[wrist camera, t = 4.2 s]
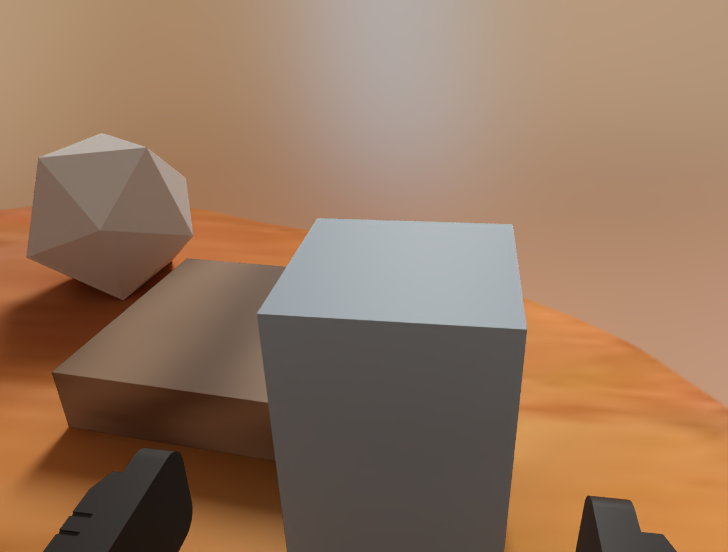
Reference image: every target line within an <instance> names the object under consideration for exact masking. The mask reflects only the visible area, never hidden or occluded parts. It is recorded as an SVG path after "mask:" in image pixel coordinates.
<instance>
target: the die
mask: <svg viewBox="0 0 728 552" xmlns="http://www.w3.org/2000/svg"><path fill="white" fill-rule="evenodd" d="M192 237H193V230H192V222H191V215H190V207H189V199H188V192H187V185H186V178H185V177H184V176H182V175H181V174H180V173H178V172H177V171H176V170H175V169H173V168H172V167H171V166H170V165H168V164H167V163H166V162H165V161H163V160H162V159H161V158H159V157H158V156H157V155H156V154H154V153H153V152H152V151H151V150H149V149H148V148H147V147H144V146H141V145H138V144H134V143H131V142H128V141H125V140H122V139H119V138H116V137H112V136H109V135H106V134H103V133H101V134H98V135H96V136H93V137H91V138H88V139H85V140H83V141H80V142H78V143H75V144H73V145H70V146H68V147H65V148H63V149H60V150H57V151H54V152H52V153H49V154H47V155H44V156H42V157H39V158H38V165H37V173H36V182H35V190H34V199H33V207H32V215H31V224H30V232H29V241H28V249H27V258H29V259H31V260H33V261H36V262H38V263H40V264H42V265H45V266H47V267H49V268H51V269H54V270H56V271H58V272H60V273H63V274H65V275H67V276H69V277H72V278H74V279H76V280H78V281H81V282H83V283H85V284H87V285H90V286H92V287H94V288H96V289H99V290H101V291H103V292H105V293H108V294H110V295H112V296H114V297H117V298H119V299H121V300H125V299H126V298H127V297H128V296H129V295H131V294H132V293H133V292H134V291H136V290H137V289H138V288H139V287H140V286H142V285H143V284H144V283H145V282H147V281H148V280H149V279H150V278H151V277H153V276H154V275H155V274H156V273H158V272H159V271H160V270H161V269H163V268H164V267H165V266H166V265H167V264H169V263H170V262H171V261H172V260H173V259H174V258H175V257H176V256H177V254H178V253H179V252H180V251H181V250H182V248H183V247H184V246H185V245H186V244H187V243H188V241H189V240H190V239H191V238H192Z"/></svg>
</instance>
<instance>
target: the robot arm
mask: <svg viewBox="0 0 728 552" xmlns="http://www.w3.org/2000/svg"><path fill="white" fill-rule="evenodd" d="M191 520H192V501H191V496H190V491H189V487H188V482H187V478H186V473H185V468H184V464H183V459H182V456H181V454H180V453H179V452H177V451H168V450H158V449H149V448H142V449H140V450H139V451H138V452H137V453H136V454H135V455H134V457H133V458H132V459H131V461H130V462H129V464H128V465H127V467H126V468H125V469H124V471H123V472H114V471H113V472H111V473H110V474H109V475H107V476H106V477H105V478H104V479H102V480H101V481H100V482H98V483H97V484H96V485H95V486H93V487H92V488H91V489H89V491H88V492H87V493H86V495H85V496H84V497H83V499H82V500H81V501H80V503H79V504H78V505H77V507H76V508H75V509H74V511H73V515H72V516H69V518H68V519H67V520H66V522H65V523H64V524H63V526H62V527H61V528H60V532H59V534H56V535H55V536H54V538H53V539H52V540H51V542H50V543H49V544H48V546H47V547H46V548H45V550H44V551H43V552H179V550H180V548H181V546H182V544H183V542H184V540H185V538H186V536H187V534H188V531H189V528H190V524H191ZM576 552H677V551H676V550H675V549H674V548H673V546H672V545H671V544H670V543H669V541H668V540H667V539H666V537H665V536H664V535H663V534H655V533H646V532H641V530H640V527H639V523H638V520H637V516H636V512H635V509H634V506H633V504H632V502H631V501H630V500H625V499H616V498H606V497H596V496H587V497H586V500H585V504H584V509H583V514H582V520H581V525H580V531H579V536H578V541H577V547H576Z"/></svg>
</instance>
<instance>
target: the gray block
mask: <svg viewBox="0 0 728 552" xmlns="http://www.w3.org/2000/svg"><path fill="white" fill-rule="evenodd" d="M257 320H258V327H259V335H260V343H261V351H262V359H263V367H264V374H265V382H266V390H267V398H268V406H269V414H270V421H271V429H272V437H273V445H274V453H275V461H276V469H277V476H278V484H279V492H280V500H281V508H282V516H283V523H284V531H285V539H286V547H287V552H504V547H505V537H506V527H507V518H508V508H509V498H510V489H511V479H512V469H513V460H514V450H515V440H516V431H517V421H518V411H519V402H520V392H521V382H522V373H523V363H524V353H525V344H526V334H527V326H526V319H525V311H524V304H523V297H522V290H521V282H520V275H519V267H518V261H517V252H516V245H515V238H514V230H513V225H512V224H481V223H452V222H451V223H450V222H419V221H388V220H387V221H386V220H356V219H355V220H354V219H324V218H318V219H317V220H316V221H315V223H314V225H313V226H312V228H311V229H310V231H309V232H308V234H307V236H306V237H305V239H304V240H303V242H302V243H301V245H300V247H299V248H298V250H297V251H296V253H295V254H294V256H293V258H292V259H291V261H290V262H289V264H288V265H287V267H286V269H285V270H284V272H283V273H282V275H281V276H280V278H279V280H278V281H277V283H276V284H275V286H274V287H273V289H272V291H271V292H270V294H269V295H268V297H267V298H266V300H265V302H264V303H263V305H262V306H261V308H260V309H259V311H258V313H257Z"/></svg>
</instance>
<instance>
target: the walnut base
mask: <svg viewBox="0 0 728 552" xmlns="http://www.w3.org/2000/svg"><path fill="white" fill-rule="evenodd" d="M285 269H286V267H282V266H270V265H258V264H247V263H235V262H223V261H212V260H200V259H188V258H187V259H186V260H185V261H183V262H182V263H181V264H180V265H179V266H178V267H176V268H175V269H174V270H173V271H172V272H170V273H169V274H168V275H167V276H166V277H164V278H163V279H162V280H161V281H160V282H158V283H157V284H156V285H155V286H154V287H152V288H151V289H150V290H149V291H148V292H147V293H145V294H144V295H143V296H142V297H141V298H139V299H138V300H137V301H136V302H135V303H133V304H132V305H131V306H130V307H129V308H127V309H126V310H125V311H124V312H123V313H121V314H120V315H119V316H118V317H117V318H115V319H114V320H113V321H112V322H111V323H110V324H108V325H107V326H106V327H105V328H104V329H102V330H101V331H100V332H99V333H98V334H96V335H95V336H94V337H93V338H92V339H90V340H89V341H88V342H87V343H86V344H84V345H83V346H82V347H81V348H80V349H79V350H77V351H76V352H75V353H74V354H73V355H71V356H70V357H69V358H68V359H67V360H65V361H64V362H63V363H62V364H61V365H59V366H58V367H57V368H56V369H55V370H53V371H52V375H53V378H54V381H55V384H56V387H57V391H58V394H59V397H60V400H61V403H62V406H63V410H64V413H65V416H66V419H67V422H68V425H69V427H71V428H77V429H83V430H89V431H95V432H101V433H107V434H113V435H120V436H126V437H132V438H138V439H144V440H150V441H156V442H162V443H168V444H174V445H181V446H187V447H193V448H199V449H205V450H211V451H217V452H223V453H229V454H236V455H242V456H248V457H254V458H260V459H266V460H272V461H275V453H274V445H273V437H272V429H271V421H270V414H269V406H268V398H267V390H266V382H265V374H264V367H263V359H262V351H261V343H260V335H259V327H258V320H257V313H258V311H259V309H260V308H261V306H262V305H263V303H264V302H265V300H266V298H267V297H268V295H269V294H270V292H271V291H272V289H273V287H274V286H275V284H276V283H277V281H278V280H279V278H280V276H281V275H282V273H283V272H284V270H285Z"/></svg>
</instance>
